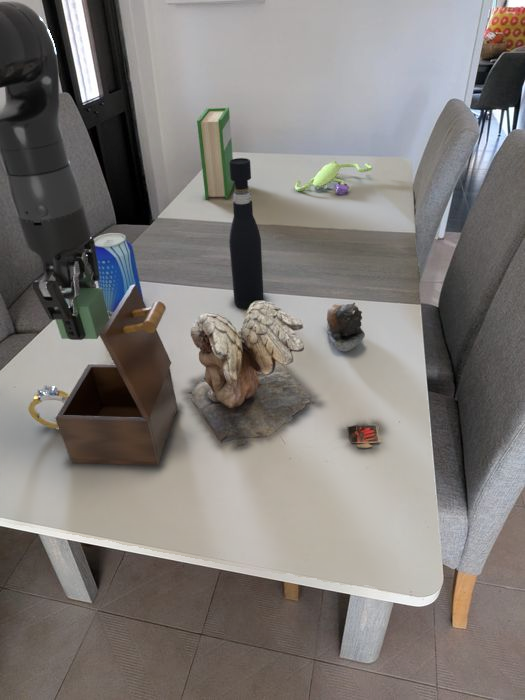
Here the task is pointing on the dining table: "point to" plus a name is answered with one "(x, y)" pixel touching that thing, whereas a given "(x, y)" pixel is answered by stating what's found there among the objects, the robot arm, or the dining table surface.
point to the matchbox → (363, 434)
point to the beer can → (115, 268)
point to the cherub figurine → (248, 372)
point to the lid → (138, 348)
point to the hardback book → (216, 151)
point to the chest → (114, 420)
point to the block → (88, 313)
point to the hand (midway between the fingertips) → (84, 326)
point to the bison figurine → (344, 326)
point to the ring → (44, 394)
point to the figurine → (331, 177)
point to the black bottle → (244, 240)
